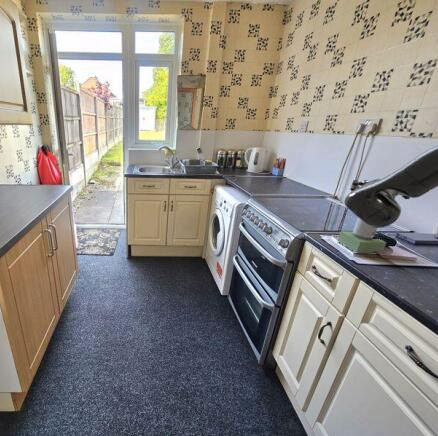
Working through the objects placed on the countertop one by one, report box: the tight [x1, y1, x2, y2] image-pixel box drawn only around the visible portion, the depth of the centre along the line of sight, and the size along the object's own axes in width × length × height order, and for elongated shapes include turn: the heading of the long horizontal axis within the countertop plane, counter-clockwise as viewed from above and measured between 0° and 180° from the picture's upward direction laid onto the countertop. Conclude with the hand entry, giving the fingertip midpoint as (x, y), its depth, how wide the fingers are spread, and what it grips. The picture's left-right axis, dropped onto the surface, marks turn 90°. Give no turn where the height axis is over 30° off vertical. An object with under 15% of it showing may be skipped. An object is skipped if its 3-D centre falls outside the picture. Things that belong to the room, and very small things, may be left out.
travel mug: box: [352, 217, 378, 240], centre depth 93 cm, size 6×7×20 cm
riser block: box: [337, 230, 387, 253], centre depth 97 cm, size 10×10×5 cm
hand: (381, 185), depth 81 cm, fingers open, 8 cm apart
